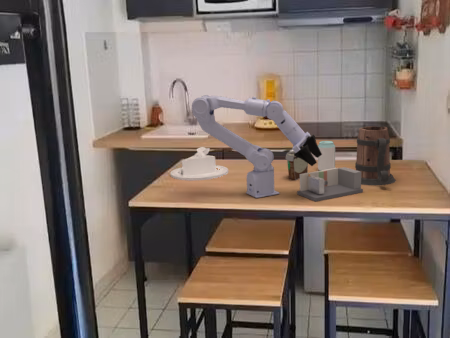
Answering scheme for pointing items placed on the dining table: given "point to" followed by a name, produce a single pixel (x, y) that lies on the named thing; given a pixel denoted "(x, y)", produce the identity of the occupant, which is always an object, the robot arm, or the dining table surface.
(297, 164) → the food container
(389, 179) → the tankard
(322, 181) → the grey rectangular block
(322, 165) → the can
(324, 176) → the base
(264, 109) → the robot arm
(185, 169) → the dish
